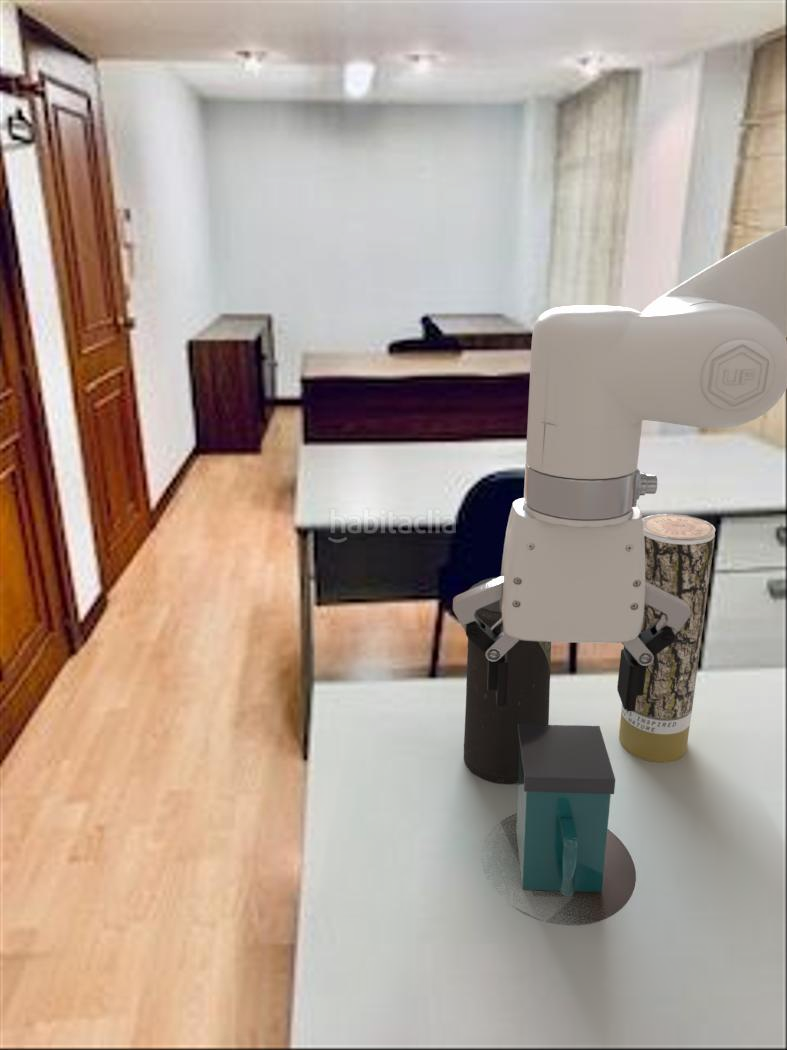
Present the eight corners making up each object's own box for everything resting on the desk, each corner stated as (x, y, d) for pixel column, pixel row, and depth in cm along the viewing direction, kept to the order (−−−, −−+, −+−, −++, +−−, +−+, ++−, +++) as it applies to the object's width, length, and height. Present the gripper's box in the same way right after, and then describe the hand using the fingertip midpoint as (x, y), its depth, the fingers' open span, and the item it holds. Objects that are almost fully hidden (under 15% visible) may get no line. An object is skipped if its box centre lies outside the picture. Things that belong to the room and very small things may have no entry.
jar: (513, 830, 68) (517, 723, 64) (590, 833, 68) (599, 725, 64) (522, 917, 60) (527, 799, 56) (610, 920, 59) (622, 802, 55)
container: (565, 778, 76) (577, 598, 69) (485, 803, 73) (489, 617, 66) (521, 730, 83) (527, 563, 76) (447, 751, 80) (446, 579, 73)
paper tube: (691, 772, 76) (723, 541, 67) (621, 765, 77) (643, 537, 69) (680, 731, 82) (707, 515, 74) (615, 726, 84) (634, 512, 75)
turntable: (618, 817, 71) (619, 810, 70) (652, 937, 58) (653, 929, 58) (478, 813, 72) (478, 806, 71) (482, 930, 59) (483, 922, 59)
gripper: (689, 475, 56) (663, 676, 62) (454, 473, 57) (451, 670, 63) (723, 509, 49) (690, 732, 55) (454, 506, 50) (451, 724, 56)
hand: (562, 699), depth 59 cm, fingers open, 9 cm apart
